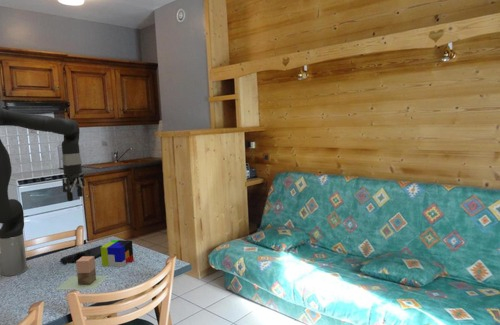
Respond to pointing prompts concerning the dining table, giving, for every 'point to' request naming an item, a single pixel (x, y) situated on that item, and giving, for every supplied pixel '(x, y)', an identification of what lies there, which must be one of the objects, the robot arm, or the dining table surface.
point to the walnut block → (86, 278)
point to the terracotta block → (85, 264)
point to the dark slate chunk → (81, 255)
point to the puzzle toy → (117, 253)
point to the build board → (73, 284)
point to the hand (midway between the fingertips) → (75, 198)
